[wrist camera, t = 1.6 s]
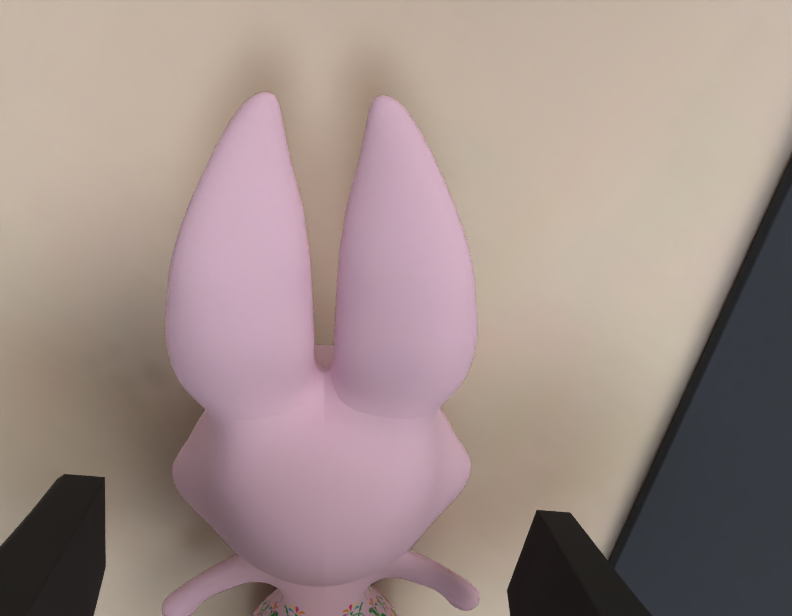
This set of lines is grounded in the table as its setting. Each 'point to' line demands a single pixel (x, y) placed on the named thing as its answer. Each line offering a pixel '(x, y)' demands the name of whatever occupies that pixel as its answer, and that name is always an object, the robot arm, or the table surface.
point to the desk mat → (727, 457)
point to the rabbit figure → (321, 371)
